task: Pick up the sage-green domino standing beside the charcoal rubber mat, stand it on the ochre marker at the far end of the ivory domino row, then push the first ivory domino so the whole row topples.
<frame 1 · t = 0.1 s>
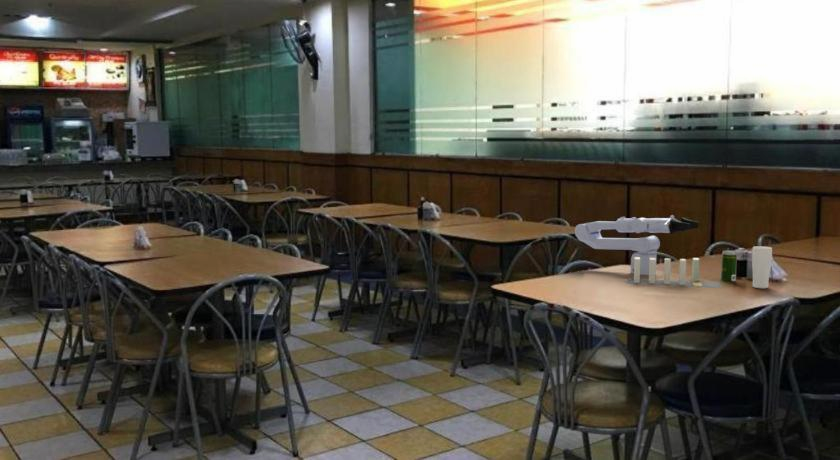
hand: (694, 225, 312), 22 cm above the table, tool horizontal, fingers open, 7 cm apart
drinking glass: (760, 288, 303), on the table
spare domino: (695, 282, 314), on the table
domino 1: (636, 281, 310), point 1 cm above the table, touching domino mat
beer can: (728, 282, 313), on the table
domino 2: (651, 282, 309), point 1 cm above the table, touching domino mat
domino 4: (682, 283, 306), point 1 cm above the table, touching domino mat
domino mat: (672, 285, 307), on the table
domino 3: (666, 282, 307), point 1 cm above the table, touching domino mat
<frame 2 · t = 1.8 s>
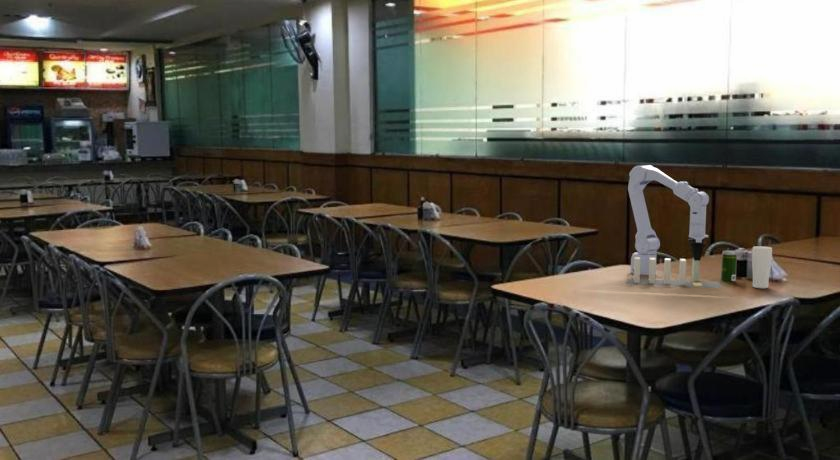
hand: (696, 258, 313), 9 cm above the table, tool pointing down, fingers open, 7 cm apart
nothing on the table moved.
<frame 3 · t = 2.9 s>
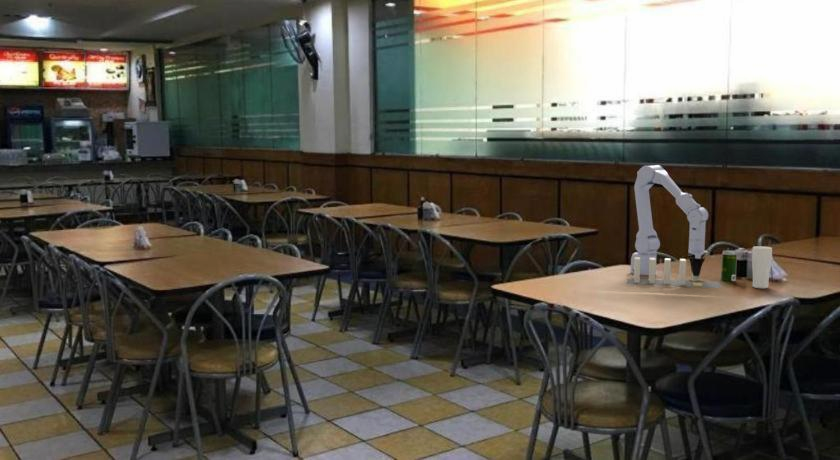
hand: (695, 274, 313), 3 cm above the table, tool pointing down, fingers closed on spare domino, 5 cm apart
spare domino: (695, 282, 314), on the table, touching gripper
everything else where it was.
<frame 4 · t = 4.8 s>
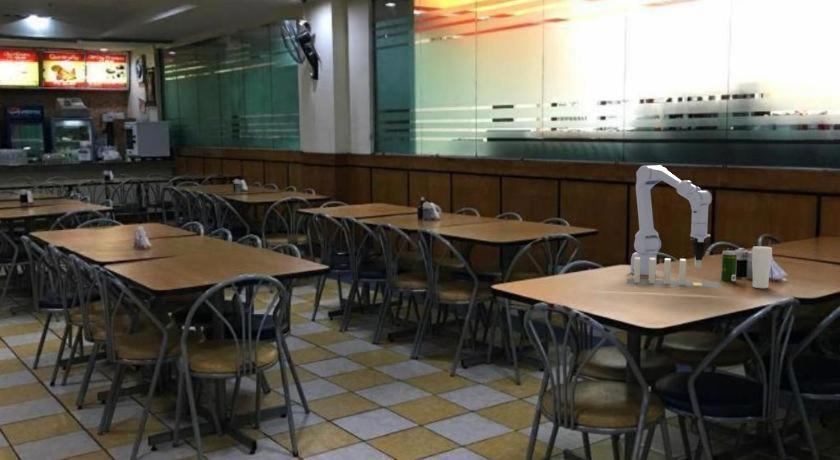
hand: (698, 258, 306), 10 cm above the table, tool pointing down, fingers closed on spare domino, 5 cm apart
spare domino: (697, 266, 307), point 7 cm above the table, touching gripper
everything else where it was.
when the fingers open (4 cm above the table, at t = 6.9 s): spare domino stays where it is, resting on domino mat.
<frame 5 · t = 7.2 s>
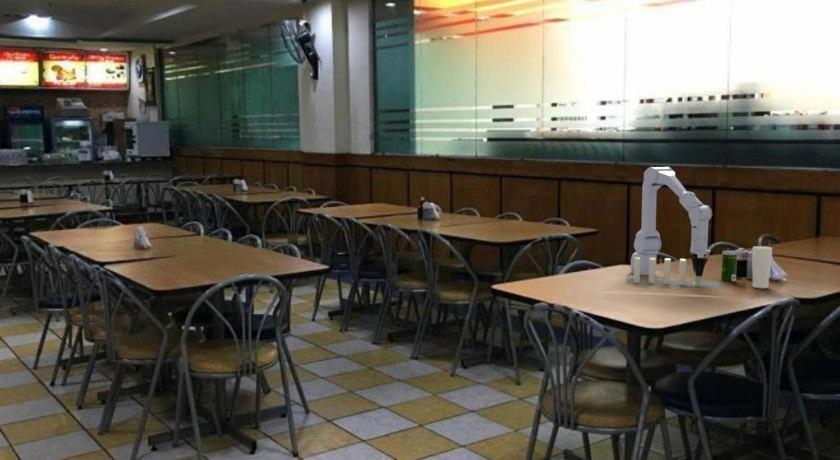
hand: (697, 274, 304), 5 cm above the table, tool pointing down, fingers open, 7 cm apart
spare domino: (697, 284, 305), point 1 cm above the table, touching domino mat
everything else where it was.
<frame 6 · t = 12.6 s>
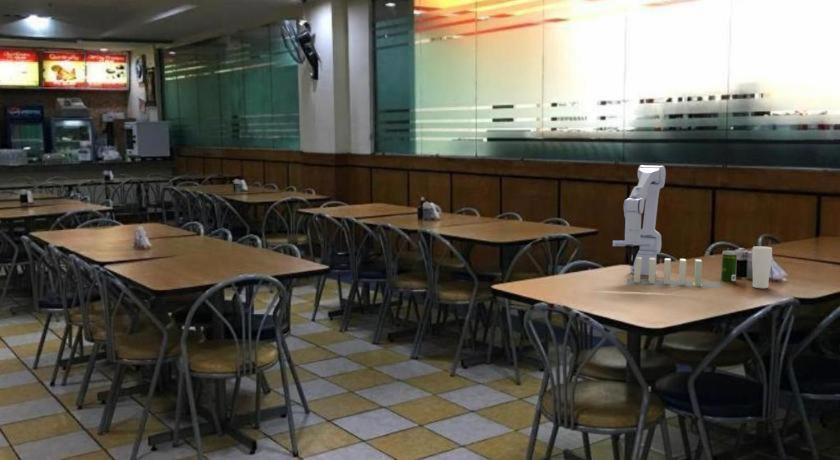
hand: (631, 265, 310), 7 cm above the table, tool pointing down, fingers closed
domino 1: (636, 281, 310), point 1 cm above the table, touching domino mat, gripper
everything else where it was.
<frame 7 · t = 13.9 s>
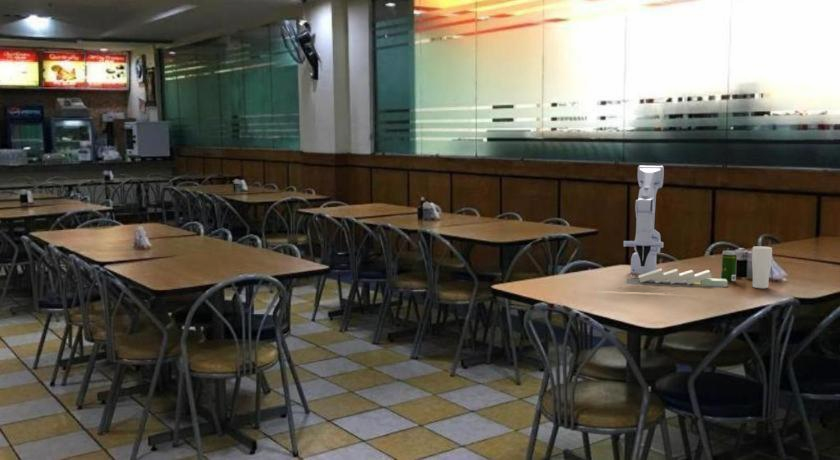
hand: (642, 265, 309), 7 cm above the table, tool pointing down, fingers closed
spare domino: (701, 281, 304), point 2 cm above the table, tilted 90°, touching domino 4, domino mat
domino 1: (639, 279, 310), point 2 cm above the table, tilted 69°, touching domino 2, domino mat
domino 2: (654, 279, 308), point 2 cm above the table, tilted 68°, touching domino 1, domino 3, domino mat
domino 4: (686, 281, 306), point 2 cm above the table, tilted 67°, touching domino 3, domino mat, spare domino
domino 3: (669, 280, 307), point 2 cm above the table, tilted 69°, touching domino 2, domino 4, domino mat
everything else where it was.
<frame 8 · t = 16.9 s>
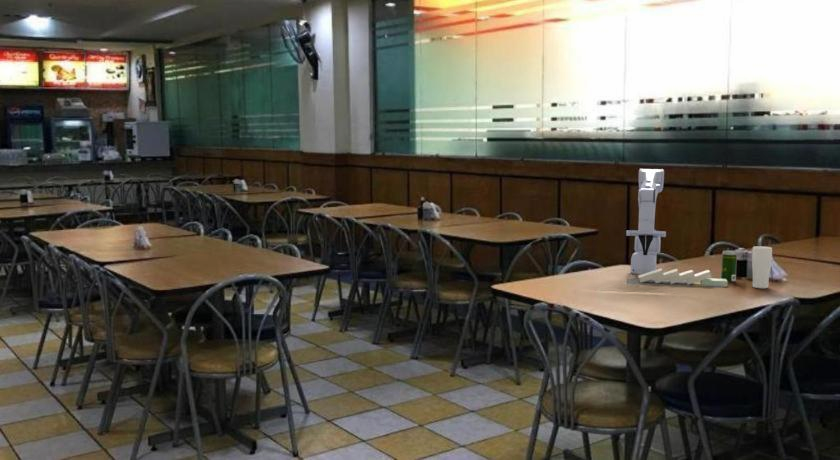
hand: (645, 255, 313), 10 cm above the table, tool pointing down, fingers closed
nothing on the table moved.
at the end: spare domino tilted 90°; domino 3 tilted 69° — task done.
